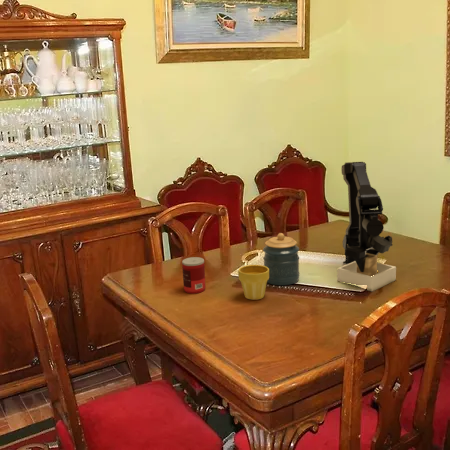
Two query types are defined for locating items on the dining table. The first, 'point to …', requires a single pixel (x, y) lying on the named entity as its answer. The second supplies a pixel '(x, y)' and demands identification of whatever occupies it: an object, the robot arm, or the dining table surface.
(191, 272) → the canned food
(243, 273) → the plant pot
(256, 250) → the dining table surface
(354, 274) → the bin
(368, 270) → the wooden block
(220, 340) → the dining table surface
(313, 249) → the dining table surface
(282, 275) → the canister
